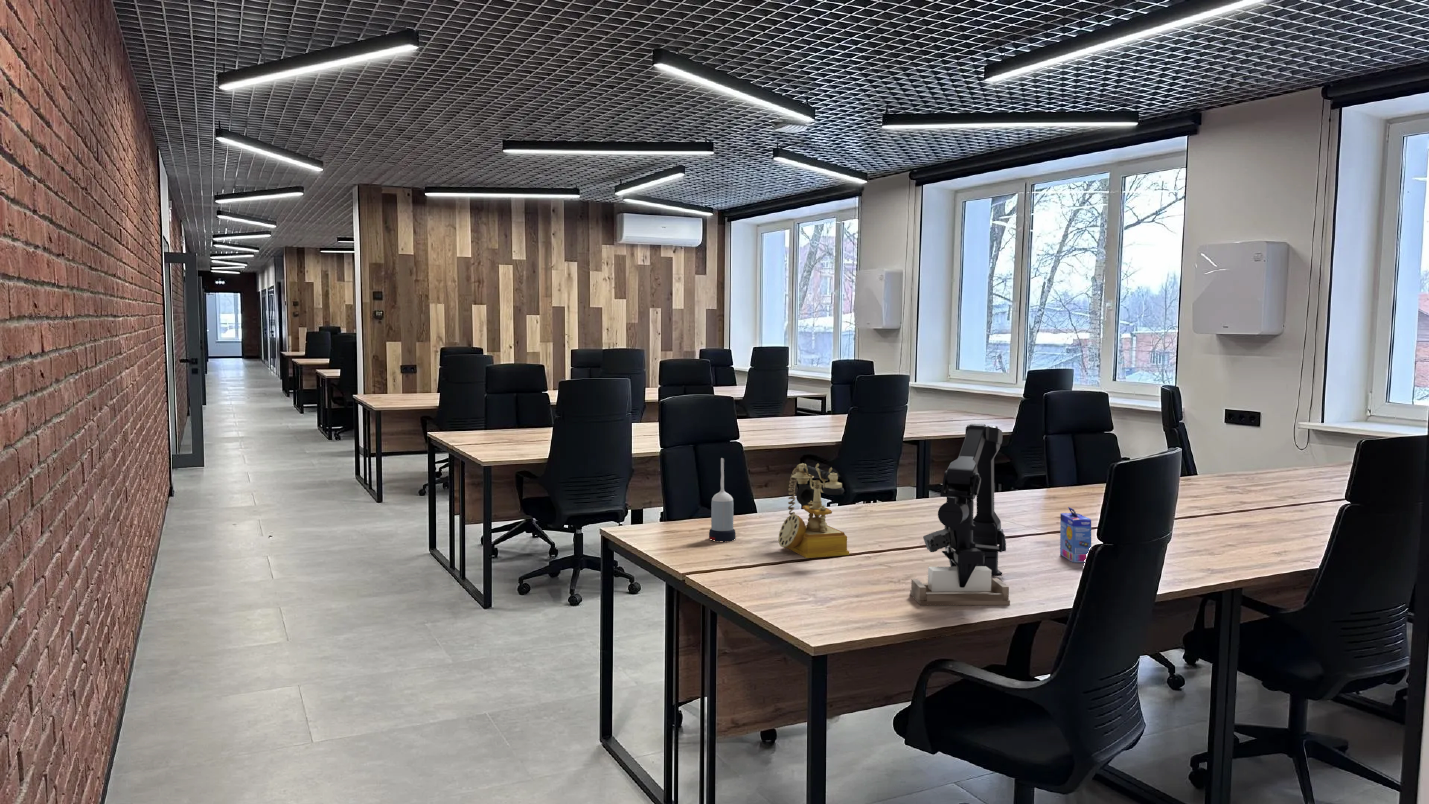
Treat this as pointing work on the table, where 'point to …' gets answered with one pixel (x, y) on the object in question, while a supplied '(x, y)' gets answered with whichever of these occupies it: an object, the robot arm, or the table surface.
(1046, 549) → the table surface
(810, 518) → the rotary telephone
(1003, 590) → the tray
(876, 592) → the table surface
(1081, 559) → the ink cartridge box
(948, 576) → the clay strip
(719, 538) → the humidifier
